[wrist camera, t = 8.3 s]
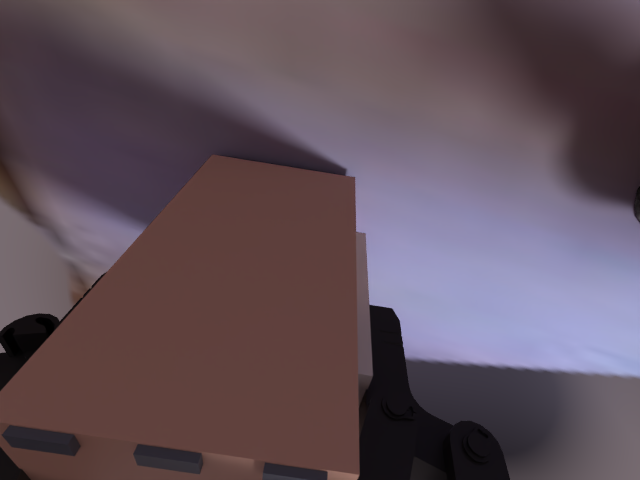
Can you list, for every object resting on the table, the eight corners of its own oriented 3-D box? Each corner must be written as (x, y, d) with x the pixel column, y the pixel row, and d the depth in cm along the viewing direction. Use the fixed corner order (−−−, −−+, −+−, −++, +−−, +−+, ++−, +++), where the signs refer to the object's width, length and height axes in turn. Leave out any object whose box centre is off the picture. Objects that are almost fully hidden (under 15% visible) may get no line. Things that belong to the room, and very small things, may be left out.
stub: (212, 154, 14) (-34, 428, 5) (355, 177, 14) (359, 485, 5) (217, 265, 18) (75, 545, 9) (332, 282, 18) (312, 578, 9)
